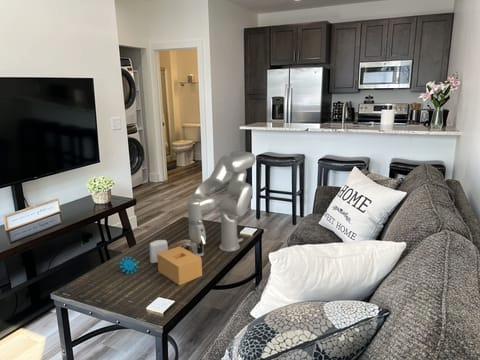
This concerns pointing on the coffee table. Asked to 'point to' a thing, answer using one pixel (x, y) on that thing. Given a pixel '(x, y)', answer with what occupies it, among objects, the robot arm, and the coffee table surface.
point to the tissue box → (179, 265)
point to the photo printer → (157, 249)
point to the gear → (128, 265)
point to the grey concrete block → (195, 248)
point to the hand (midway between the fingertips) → (198, 251)
